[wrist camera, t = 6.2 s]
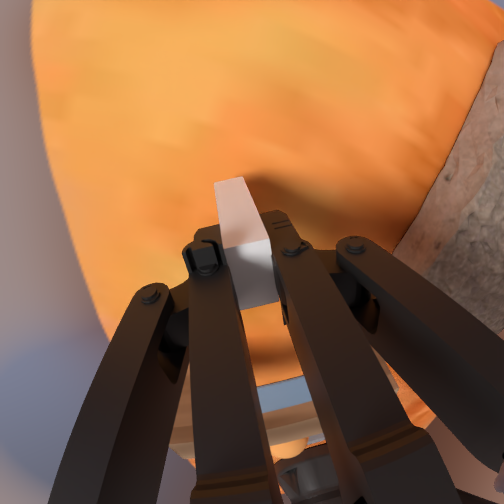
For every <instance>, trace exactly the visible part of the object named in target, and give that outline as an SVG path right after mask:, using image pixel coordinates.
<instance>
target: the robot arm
mask: <svg viewBox="0 0 504 504" xmlns="http://www.w3.org/2000/svg"><path fill="white" fill-rule="evenodd" d="M214 188H215V196H216V203H217V210H218V217H219V224H217V225H213V226H209V227H205V228H201V229H198V230H197V232H196V233H195V235H194V241H193V242H191V243H189V244H188V245H187V246H186V247H185V248H184V249H183V251H182V255H183V258H184V261H185V264H186V267H187V270H188V273H189V278H188V280H186V281H185V282H184V283H182V284H180V285H178V286H176V287H174V288H172V289H170V290H169V288H168V286H167V285H165V284H163V283H152V284H149V285H146V286H144V287H142V288H141V289H140V290H138V291H137V292H136V293H135V295H134V296H133V298H132V300H131V302H130V304H129V306H128V307H127V309H126V311H125V313H124V315H123V317H122V319H121V321H120V323H119V325H118V327H117V329H116V332H115V334H114V336H113V338H112V340H111V342H110V344H109V346H108V348H107V351H106V353H105V355H104V357H103V359H102V361H101V363H100V366H99V368H98V370H97V372H96V375H95V377H94V379H93V381H92V384H91V386H90V388H89V391H88V393H87V395H86V398H85V400H84V403H83V405H82V407H81V410H80V412H79V415H78V417H77V420H76V422H75V425H74V428H73V430H72V433H71V436H70V438H69V441H68V443H67V446H66V449H65V452H64V455H63V458H62V460H61V463H60V466H59V469H58V472H57V475H56V478H55V481H54V485H53V488H52V491H51V494H50V498H49V501H48V504H156V502H157V497H158V493H159V488H160V483H161V478H162V474H163V469H164V465H165V461H166V456H167V452H168V447H169V443H170V439H171V435H172V430H173V426H174V422H175V418H176V414H177V409H178V405H179V401H180V397H181V393H182V389H183V385H184V381H185V377H186V373H187V369H188V366H189V362H190V389H191V408H192V425H193V439H194V452H195V463H196V474H197V482H196V486H195V487H194V489H193V490H192V492H191V497H190V504H284V503H283V499H282V496H281V493H280V489H279V485H280V486H281V488H282V489H283V491H284V492H285V494H286V495H287V496H288V498H289V499H290V501H291V504H497V503H495V502H492V501H489V500H486V499H483V498H480V497H478V496H475V495H472V494H470V493H467V492H465V491H462V490H459V489H457V488H455V486H454V483H453V481H452V479H451V477H450V475H449V472H448V470H447V468H446V466H445V464H444V462H443V460H442V457H441V455H440V453H439V451H438V449H437V447H436V445H435V443H434V441H433V439H432V438H431V436H430V435H429V433H428V432H426V431H425V430H424V429H423V428H420V427H416V426H414V425H413V424H412V423H411V421H410V420H409V418H408V416H407V414H406V412H405V410H404V408H403V406H402V404H401V402H400V400H399V398H398V396H397V394H396V393H395V391H394V389H393V387H392V385H391V383H390V381H389V379H388V377H387V375H386V373H385V372H384V370H383V368H382V366H381V364H380V362H379V360H378V358H377V357H376V355H375V353H374V351H373V349H372V347H373V348H374V349H375V350H376V351H377V352H378V353H379V355H380V356H381V357H382V358H383V359H384V360H385V361H386V362H387V363H388V364H389V365H390V366H391V367H392V368H393V369H394V370H395V371H396V373H397V374H398V375H399V376H400V377H401V378H402V379H403V380H404V381H405V382H406V383H407V384H408V385H409V386H410V387H411V388H412V390H413V391H414V392H415V393H416V394H417V395H418V396H419V397H420V398H421V399H422V400H423V401H424V402H425V404H426V405H427V406H428V407H429V408H430V409H431V410H432V411H433V412H434V413H435V414H436V415H437V416H438V418H439V419H440V420H441V421H442V422H443V423H444V424H445V425H446V426H447V427H448V429H449V430H450V431H451V432H452V433H453V434H454V435H455V436H456V437H457V439H458V440H459V441H460V442H461V443H462V444H463V445H464V446H465V447H466V449H467V450H468V451H469V452H470V453H471V454H473V455H474V456H475V458H477V459H478V460H479V461H480V462H481V463H483V464H484V465H486V466H487V467H488V468H490V469H492V470H493V471H495V472H497V473H499V475H498V476H497V478H496V479H495V482H494V488H495V490H496V491H497V492H503V493H504V340H502V339H501V338H500V337H499V336H498V335H497V334H495V333H494V332H493V331H492V330H491V329H489V328H488V327H487V326H486V325H485V324H483V323H482V322H481V321H480V320H478V319H477V318H476V317H475V316H473V315H472V314H471V313H470V312H468V311H467V310H466V309H465V308H463V307H462V306H461V305H460V304H458V303H457V302H456V301H454V300H453V299H452V298H451V297H449V296H448V295H447V294H445V293H444V292H443V291H441V290H440V289H439V288H437V287H436V286H435V285H433V284H432V283H431V282H429V281H428V280H427V279H425V278H424V277H422V276H421V275H420V274H418V273H417V272H416V271H414V270H413V269H411V268H410V267H409V266H407V265H406V264H404V263H403V262H401V261H400V260H399V259H397V258H396V257H394V256H393V255H391V254H390V253H389V252H387V251H386V250H384V249H383V248H381V247H380V246H378V245H377V244H375V243H374V242H372V241H371V240H369V239H367V238H365V237H360V236H350V237H346V238H343V239H341V240H340V241H338V243H337V244H336V250H316V249H314V248H313V247H312V245H311V244H310V243H309V242H308V241H305V240H302V239H301V238H300V236H299V235H298V233H297V231H296V230H295V228H294V226H293V225H292V223H291V221H290V220H289V218H288V216H287V215H286V214H285V213H283V212H281V211H279V210H276V211H271V212H266V213H262V214H259V213H258V211H257V208H256V206H255V204H254V201H253V199H252V197H251V195H250V192H249V190H248V188H247V185H246V183H245V181H244V179H243V176H242V177H237V178H232V179H228V180H224V181H219V182H215V183H214ZM278 295H279V296H278ZM279 298H280V301H281V308H282V315H283V322H284V325H286V324H287V327H288V330H289V333H290V336H291V339H292V342H293V345H294V348H295V351H296V354H297V356H298V359H299V362H300V365H301V368H302V371H303V374H304V377H305V380H306V383H307V386H308V389H309V392H310V395H311V398H312V401H313V404H314V407H315V410H316V413H317V416H318V419H319V422H320V425H321V428H322V431H323V434H324V437H325V440H326V443H327V444H324V445H320V446H316V447H313V448H309V449H306V450H303V451H302V452H301V453H300V454H299V455H297V456H295V457H292V458H287V459H282V460H280V461H278V462H277V463H276V464H275V465H274V463H273V459H272V455H271V450H270V446H269V441H268V437H267V433H266V428H265V424H264V419H263V415H262V410H261V405H260V401H259V396H258V392H257V387H256V382H255V378H254V373H253V368H252V363H251V359H250V354H249V349H248V344H247V339H246V334H245V329H244V325H243V320H242V316H241V312H240V310H244V309H249V308H253V307H257V306H261V305H266V304H270V303H274V302H278V301H279ZM370 345H371V346H372V347H371V346H370ZM278 483H279V484H278Z"/></svg>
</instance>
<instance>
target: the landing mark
mask: <svg viewBox="0 0 504 504" xmlns="http://www.w3.org/2000/svg"><path fill="white" fill-rule="evenodd" d="M257 392H258V396H259V401H260V405H261V410H262V413H265V412H270V411H274V410H278V409H282V408H286V407H290V406H294V405H298V404H302V403H305V402H309V401H312V398H311V395H310V392H309V389H308V386H307V383H306V380H305V377H304V375H303V376H299V377H296V378H292V379H288V380H284V381H280V382H276V383H272V384H268V385H263V386H259V387H257Z"/></svg>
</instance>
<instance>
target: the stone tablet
mask: <svg viewBox="0 0 504 504" xmlns="http://www.w3.org/2000/svg"><path fill="white" fill-rule="evenodd" d="M392 255H393V256H394V257H396V258H397V259H399V260H400V261H401V262H403V263H404V264H406V265H407V266H409V267H410V268H411V269H413V270H414V271H416V272H417V273H418V274H420V275H421V276H422V277H424V278H425V279H427V280H428V281H429V282H431V283H432V284H433V285H435V286H436V287H437V288H439V289H440V290H441V291H443V292H444V293H445V294H447V295H448V296H449V297H451V298H452V299H453V300H454V301H456V302H457V303H458V304H460V305H461V306H462V307H463V308H465V309H466V310H467V311H468V312H470V313H471V314H472V315H473V316H475V317H476V318H477V319H478V320H480V321H481V322H482V323H483V324H485V325H486V326H487V327H488V328H489V329H491V330H492V331H493V332H494V333H495V334H499V333H500V332H501V331H502V330H503V329H504V40H503V41H501V42H499V43H498V45H497V47H496V49H495V52H494V56H493V59H492V63H491V65H490V67H489V69H488V71H487V74H486V76H485V79H484V81H483V84H482V86H481V89H480V91H479V93H478V95H477V97H476V99H475V101H474V103H473V106H472V108H471V110H470V112H469V114H468V116H467V118H466V121H465V123H464V125H463V127H462V129H461V132H460V134H459V136H458V138H457V140H456V142H455V145H454V147H453V149H452V151H451V153H450V155H449V157H448V158H447V160H446V163H445V166H444V168H443V169H442V170H441V172H440V173H439V175H438V177H437V179H436V181H435V183H434V185H433V186H432V188H431V190H430V192H429V194H428V195H427V198H426V200H425V202H424V204H423V206H422V208H421V210H420V212H419V214H418V215H417V217H416V218H415V220H414V221H413V223H412V224H411V226H410V228H409V229H408V231H407V232H406V234H405V235H404V237H403V238H402V240H401V241H400V242H399V244H398V245H397V247H396V248H395V250H394V252H393V254H392ZM384 361H385V360H384Z"/></svg>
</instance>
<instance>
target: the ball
mask: <svg viewBox="0 0 504 504" xmlns="http://www.w3.org/2000/svg"><path fill="white" fill-rule="evenodd" d="M308 440H309V437H306V438H302V439H298V440H295V441H291V442H286V443H282V444H278V445H274V446H270V450H271V455H272V456H275V457H277V458H282V459H287V458H292V457H295V456H297V455H299V454H300V453H301V452H302V451H303V450H304V449H305V447H306V446H307V443H308Z"/></svg>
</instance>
